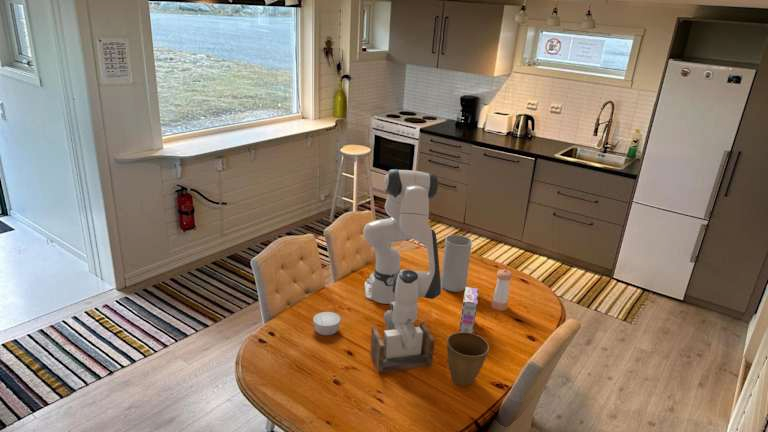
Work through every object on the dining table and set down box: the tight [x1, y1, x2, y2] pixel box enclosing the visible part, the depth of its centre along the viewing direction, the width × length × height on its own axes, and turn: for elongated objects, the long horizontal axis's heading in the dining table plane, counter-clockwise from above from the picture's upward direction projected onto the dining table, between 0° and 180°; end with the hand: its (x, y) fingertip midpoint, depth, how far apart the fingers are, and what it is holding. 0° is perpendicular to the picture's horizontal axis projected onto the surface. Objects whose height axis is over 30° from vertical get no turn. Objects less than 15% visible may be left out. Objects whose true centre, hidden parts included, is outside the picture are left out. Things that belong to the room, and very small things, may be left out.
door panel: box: [382, 326, 423, 359], centre depth 203 cm, size 4×14×10 cm, turn 106°
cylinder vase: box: [440, 234, 473, 293], centre depth 260 cm, size 12×12×25 cm
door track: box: [369, 321, 436, 374], centre depth 203 cm, size 12×21×12 cm, turn 106°
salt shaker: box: [491, 268, 513, 311], centre depth 245 cm, size 7×7×19 cm
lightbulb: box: [383, 309, 395, 330], centre depth 220 cm, size 6×6×11 cm
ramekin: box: [312, 311, 342, 336], centre depth 221 cm, size 11×11×5 cm
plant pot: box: [446, 332, 490, 387], centre depth 194 cm, size 15×15×16 cm
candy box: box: [458, 286, 479, 334], centre depth 227 cm, size 14×6×16 cm, turn 168°
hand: (402, 344), depth 203 cm, fingers closed on door panel, 4 cm apart
